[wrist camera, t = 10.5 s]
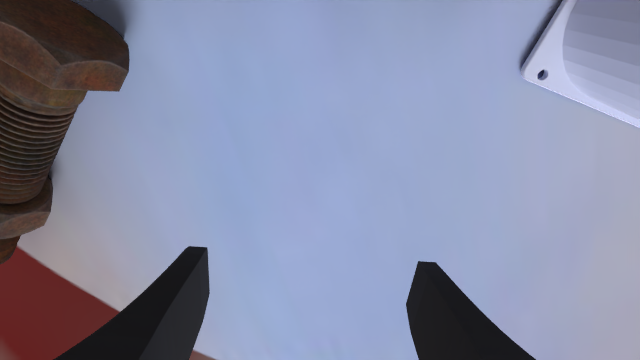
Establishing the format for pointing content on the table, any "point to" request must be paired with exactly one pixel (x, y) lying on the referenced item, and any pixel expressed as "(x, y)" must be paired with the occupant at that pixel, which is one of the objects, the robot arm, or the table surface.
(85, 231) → the table surface
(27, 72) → the bolt
